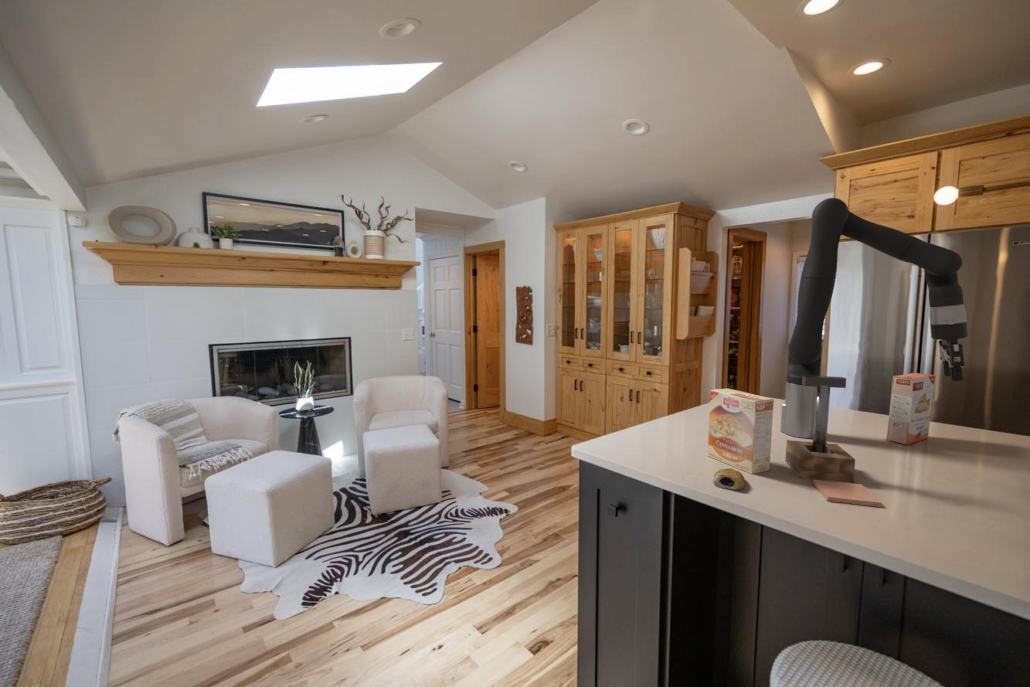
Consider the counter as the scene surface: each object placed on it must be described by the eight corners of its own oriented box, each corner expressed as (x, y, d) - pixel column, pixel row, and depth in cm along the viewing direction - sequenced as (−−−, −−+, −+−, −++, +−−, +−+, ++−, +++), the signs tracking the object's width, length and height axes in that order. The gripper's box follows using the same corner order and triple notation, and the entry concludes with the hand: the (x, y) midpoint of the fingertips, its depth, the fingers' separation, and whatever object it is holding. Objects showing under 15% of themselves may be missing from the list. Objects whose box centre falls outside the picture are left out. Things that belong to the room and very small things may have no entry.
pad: (827, 501, 103) (827, 496, 103) (813, 483, 112) (813, 479, 112) (880, 507, 100) (880, 502, 100) (860, 488, 109) (861, 484, 109)
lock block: (798, 477, 116) (799, 454, 115) (785, 460, 127) (786, 440, 127) (853, 483, 112) (855, 459, 112) (835, 465, 124) (836, 444, 123)
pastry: (719, 474, 119) (720, 460, 118) (748, 480, 115) (749, 465, 115) (711, 486, 111) (712, 471, 111) (742, 493, 107) (743, 478, 107)
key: (800, 464, 119) (806, 377, 117) (796, 459, 123) (801, 374, 120) (840, 468, 116) (847, 379, 114) (834, 463, 120) (841, 376, 118)
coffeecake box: (706, 456, 132) (709, 389, 129) (724, 452, 134) (727, 387, 132) (751, 474, 118) (755, 401, 116) (770, 470, 121) (775, 398, 119)
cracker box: (908, 446, 139) (915, 378, 137) (885, 440, 144) (891, 375, 142) (930, 439, 146) (936, 374, 143) (906, 434, 151) (912, 371, 149)
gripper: (925, 321, 137) (930, 375, 137) (935, 324, 125) (941, 383, 125) (959, 318, 133) (964, 374, 133) (973, 321, 121) (979, 382, 121)
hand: (953, 378), depth 129 cm, fingers open, 8 cm apart
